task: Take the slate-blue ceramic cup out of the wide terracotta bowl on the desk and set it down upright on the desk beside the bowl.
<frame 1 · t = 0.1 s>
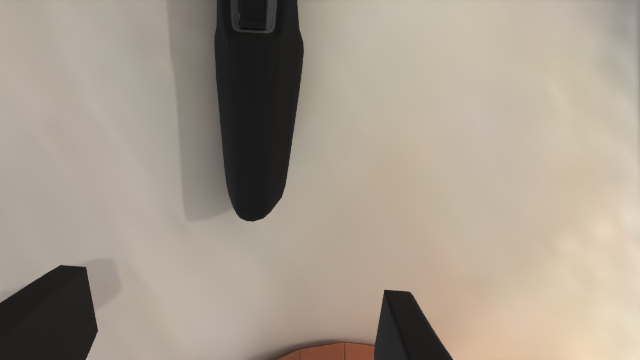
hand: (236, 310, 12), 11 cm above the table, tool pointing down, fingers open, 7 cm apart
electric trimmer: (267, 12, 20), on the table
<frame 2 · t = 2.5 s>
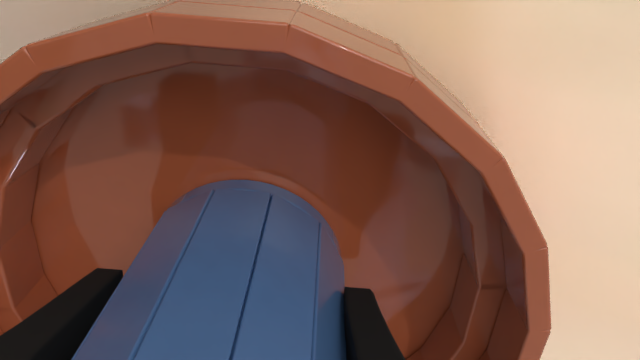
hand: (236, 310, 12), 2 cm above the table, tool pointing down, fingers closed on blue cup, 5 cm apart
blue cup: (247, 262, 13), point 1 cm above the table, touching bowl, gripper
bowl: (251, 252, 14), on the table
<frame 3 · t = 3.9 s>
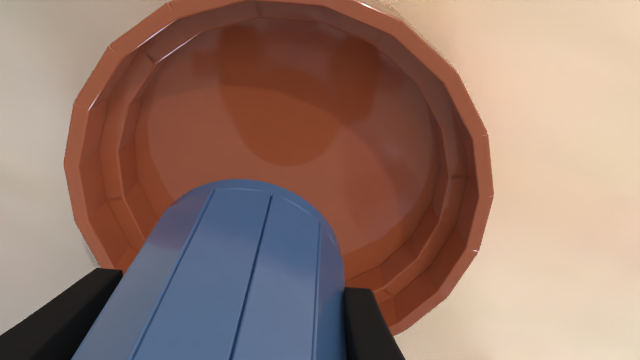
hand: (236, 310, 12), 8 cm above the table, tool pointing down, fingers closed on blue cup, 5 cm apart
blue cup: (247, 262, 13), point 6 cm above the table, touching gripper
bowl: (287, 164, 19), on the table
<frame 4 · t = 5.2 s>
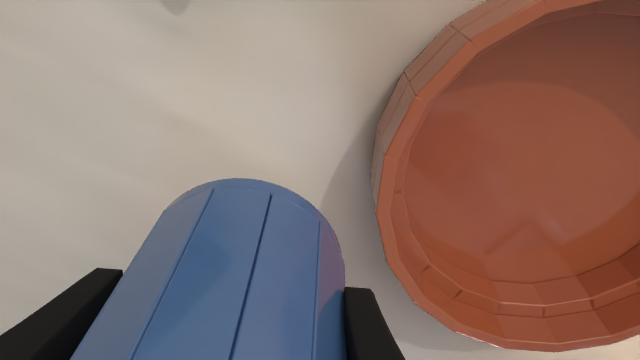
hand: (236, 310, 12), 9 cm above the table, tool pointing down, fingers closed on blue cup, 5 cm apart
blue cup: (247, 261, 13), point 7 cm above the table, touching gripper
bowl: (544, 159, 19), on the table
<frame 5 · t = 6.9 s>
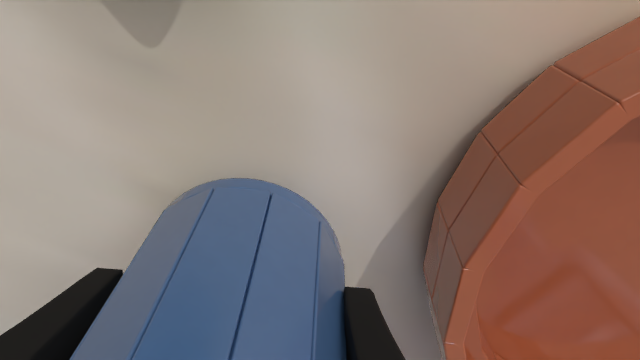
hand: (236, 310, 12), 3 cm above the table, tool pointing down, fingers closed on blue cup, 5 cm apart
blue cup: (247, 261, 13), point 1 cm above the table, touching gripper
when the fingers open (2 cm above the table, at t = 7.8 s): blue cup stays where it is, on the table.
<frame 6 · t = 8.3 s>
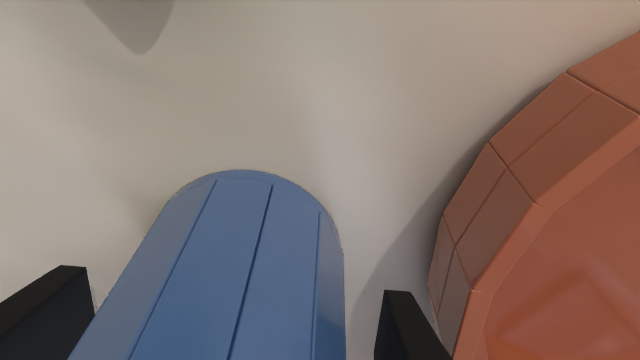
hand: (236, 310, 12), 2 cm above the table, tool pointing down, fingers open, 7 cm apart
blue cup: (248, 251, 14), on the table
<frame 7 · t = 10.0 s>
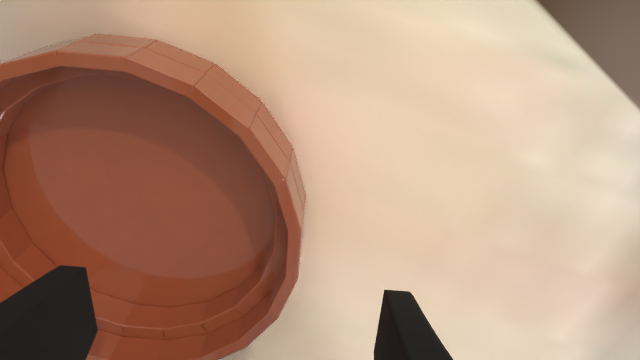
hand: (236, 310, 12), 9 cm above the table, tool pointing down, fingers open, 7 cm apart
bowl: (147, 195, 21), on the table
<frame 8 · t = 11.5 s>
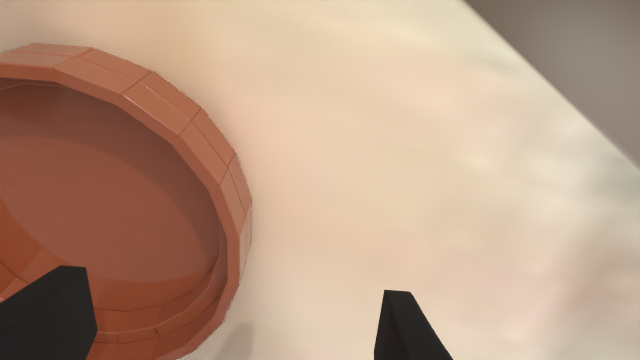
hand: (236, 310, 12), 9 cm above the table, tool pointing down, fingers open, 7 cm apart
bowl: (97, 201, 21), on the table
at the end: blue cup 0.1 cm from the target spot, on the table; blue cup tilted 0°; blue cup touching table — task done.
